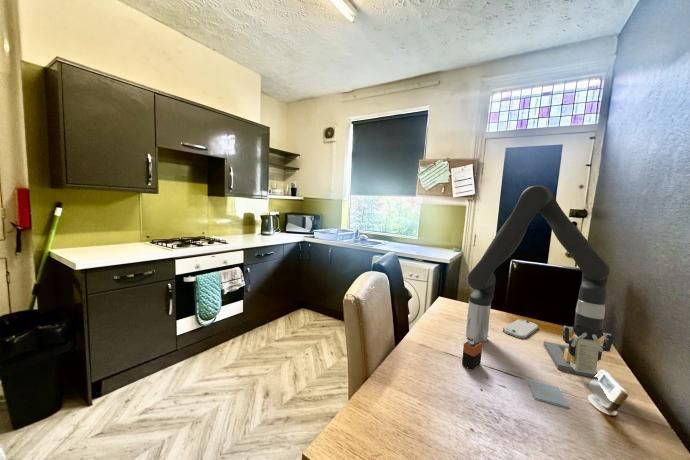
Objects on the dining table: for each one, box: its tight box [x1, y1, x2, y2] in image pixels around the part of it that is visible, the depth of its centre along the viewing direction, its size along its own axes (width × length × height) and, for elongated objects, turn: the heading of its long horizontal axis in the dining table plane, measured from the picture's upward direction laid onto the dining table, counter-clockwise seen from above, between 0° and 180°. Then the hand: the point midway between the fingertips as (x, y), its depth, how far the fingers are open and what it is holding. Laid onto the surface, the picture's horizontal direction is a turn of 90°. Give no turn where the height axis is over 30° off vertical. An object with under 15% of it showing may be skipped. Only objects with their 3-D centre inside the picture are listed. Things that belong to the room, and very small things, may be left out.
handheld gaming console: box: [502, 318, 539, 339], centre depth 137 cm, size 23×3×10 cm
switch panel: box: [542, 340, 598, 378], centre depth 110 cm, size 20×12×2 cm, turn 156°
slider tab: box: [564, 348, 571, 362], centre depth 105 cm, size 3×5×4 cm, turn 66°
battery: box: [461, 339, 483, 371], centre depth 104 cm, size 4×7×10 cm, turn 128°
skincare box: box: [570, 333, 600, 374], centre depth 97 cm, size 6×4×12 cm
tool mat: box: [527, 379, 570, 409], centre depth 89 cm, size 9×10×1 cm
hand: (583, 357), depth 97 cm, fingers closed on skincare box, 6 cm apart
